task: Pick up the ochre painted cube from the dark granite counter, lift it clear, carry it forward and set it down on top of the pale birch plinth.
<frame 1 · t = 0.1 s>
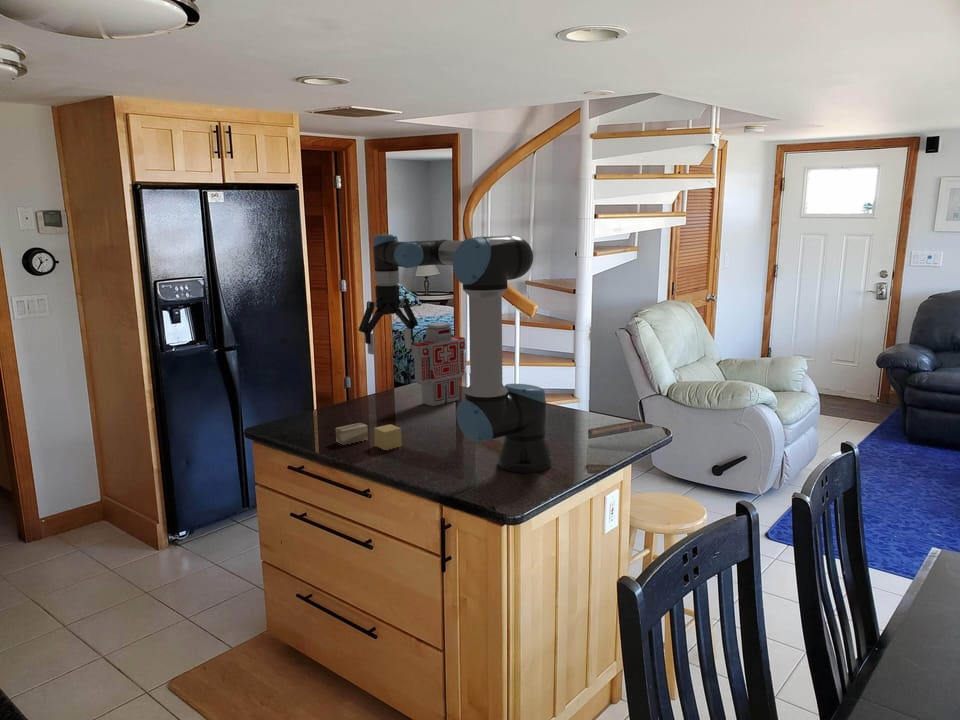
hand: (390, 351, 230), 28 cm above the counter, fingers open, 13 cm apart
ochre cube: (388, 446, 224), on the counter
birch plinth: (352, 441, 230), on the counter
toy: (440, 402, 275), on the counter
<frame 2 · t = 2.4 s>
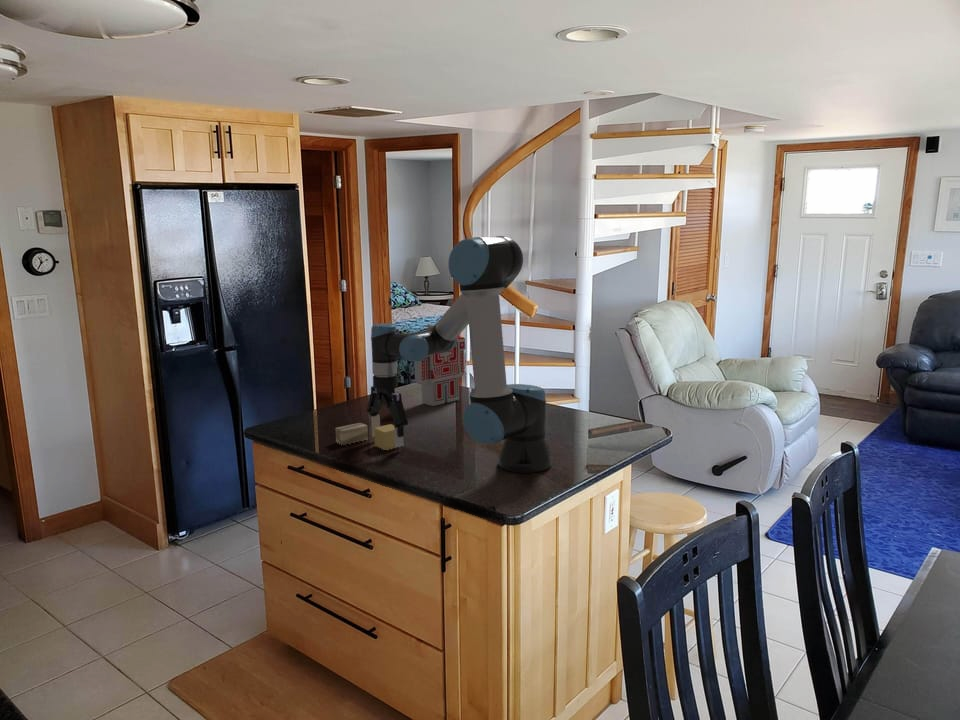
hand: (387, 441, 224), 2 cm above the counter, fingers open, 13 cm apart
nothing on the counter moved.
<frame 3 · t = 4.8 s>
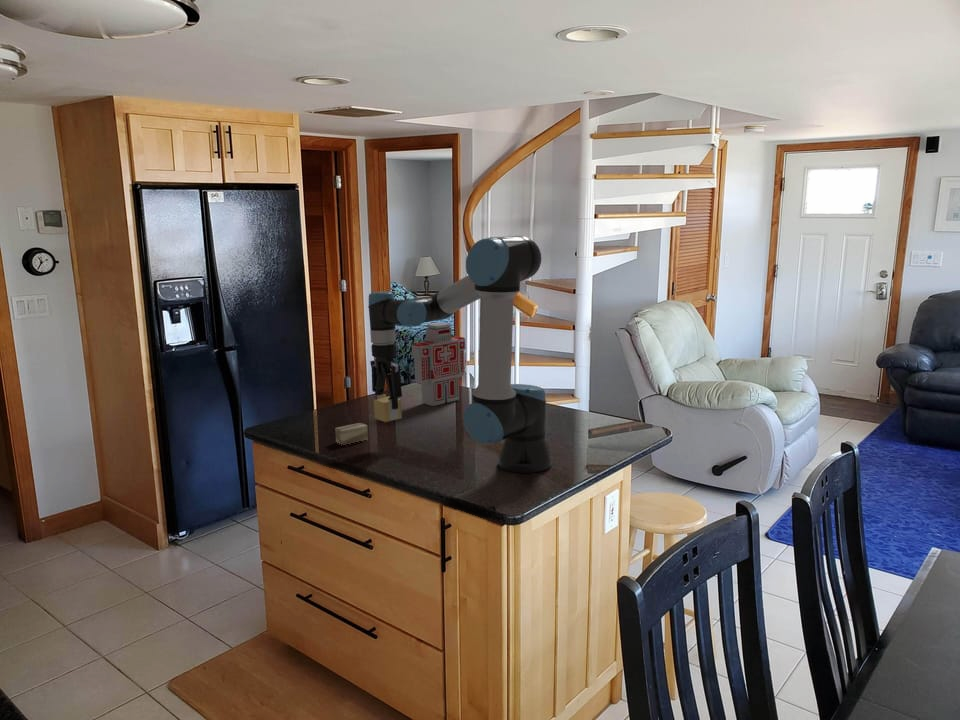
hand: (388, 417, 222), 10 cm above the counter, fingers closed on ochre cube, 6 cm apart
ochre cube: (388, 418, 222), point 9 cm above the counter, touching gripper
everything else where it was.
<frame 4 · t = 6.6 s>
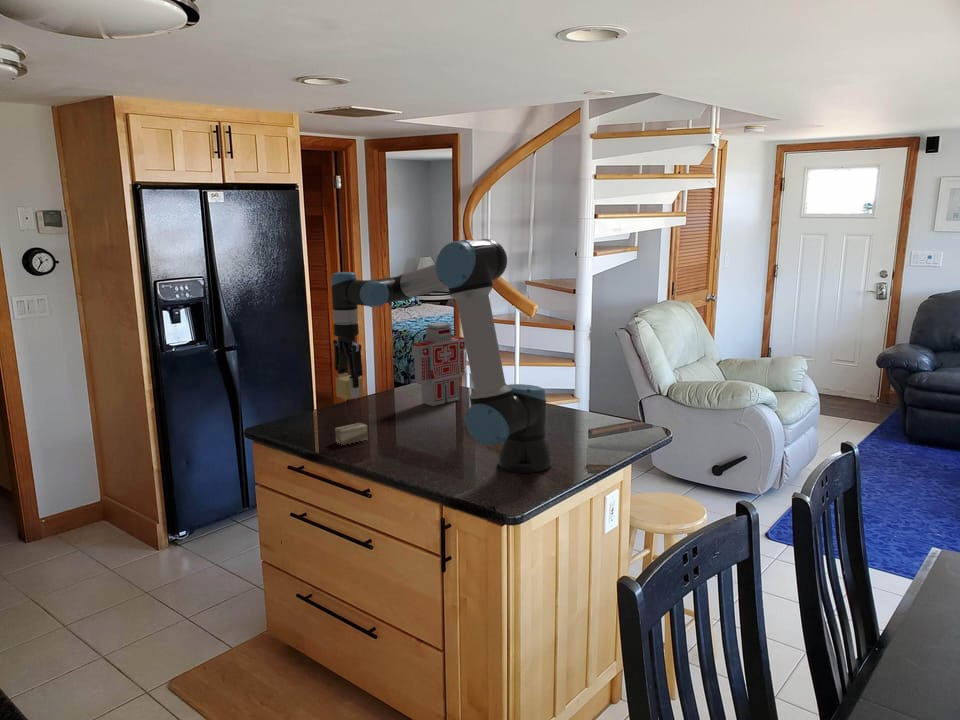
hand: (349, 395, 227), 15 cm above the counter, fingers closed on ochre cube, 6 cm apart
ochre cube: (349, 396, 227), point 15 cm above the counter, touching gripper
everything else where it was.
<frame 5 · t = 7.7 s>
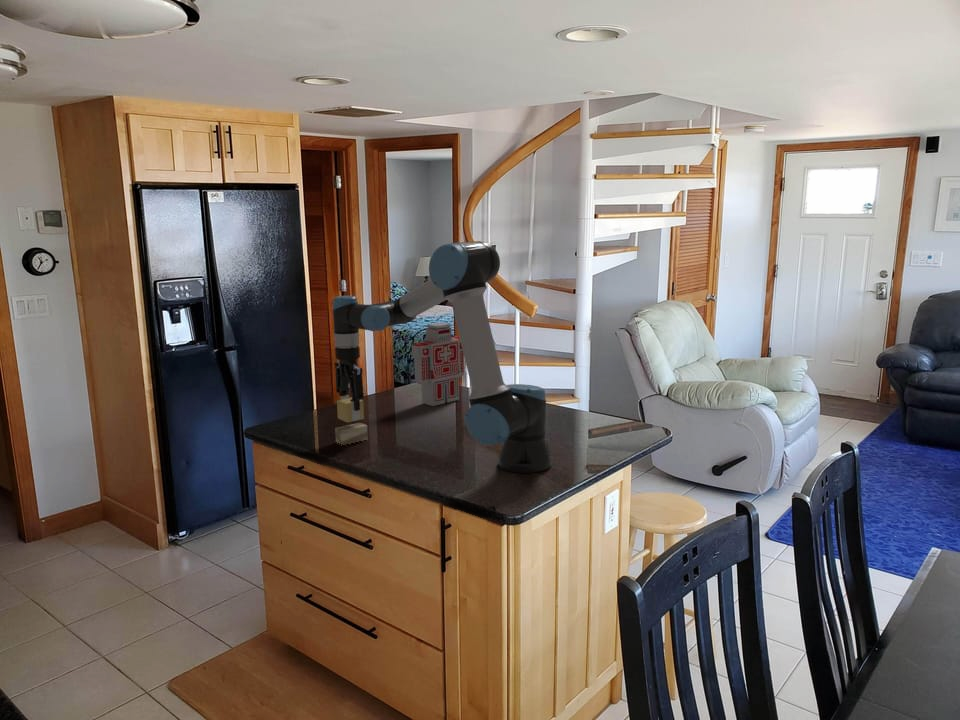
hand: (350, 417, 228), 8 cm above the counter, fingers closed on ochre cube, 6 cm apart
ochre cube: (350, 418, 229), point 7 cm above the counter, touching gripper
everything else where it was.
when the fingers open (7 cm above the counter, at t = 8.6 s): ochre cube drops 2 cm, resting on birch plinth.
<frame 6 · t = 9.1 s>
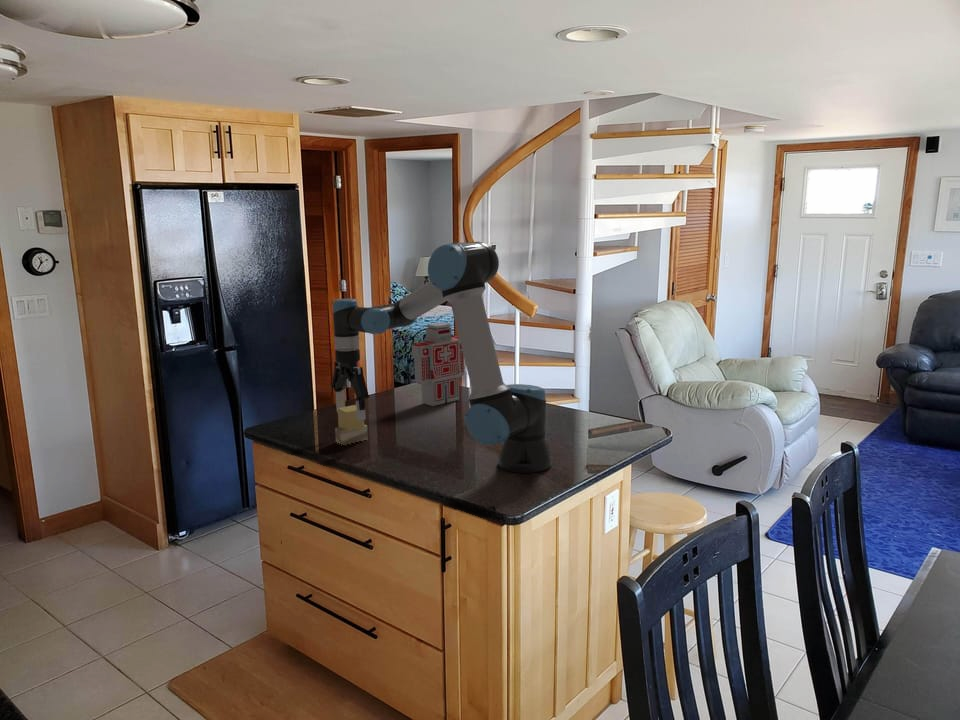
hand: (350, 415, 228), 9 cm above the counter, fingers open, 12 cm apart
ochre cube: (351, 426, 229), point 5 cm above the counter, touching birch plinth
birch plinth: (352, 441, 230), on the counter, touching ochre cube
everything else where it was.
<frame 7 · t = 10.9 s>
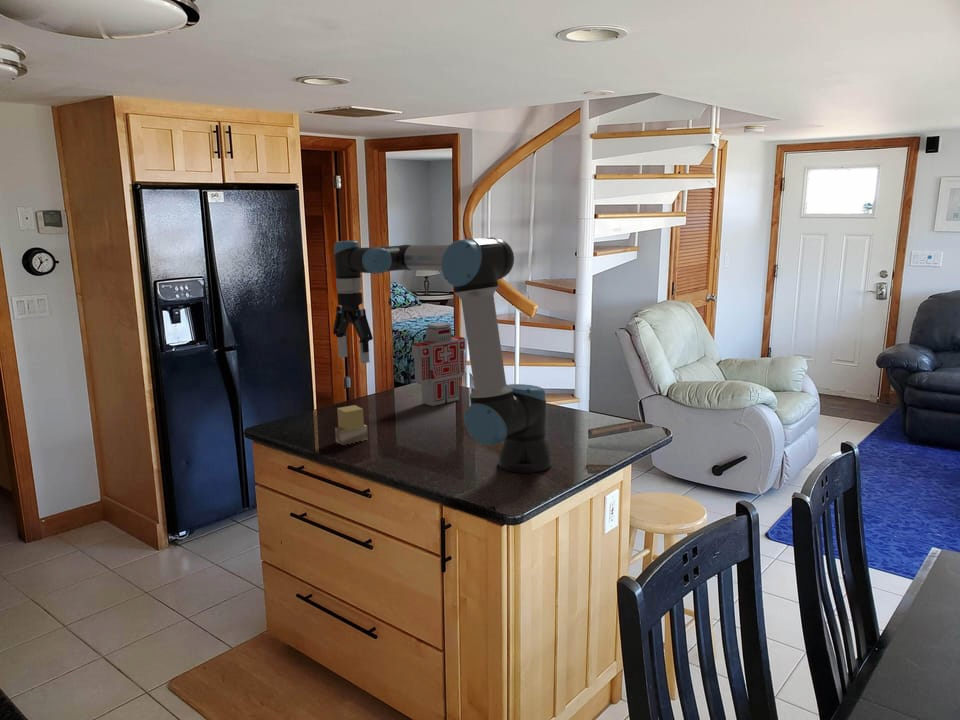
hand: (353, 360, 225), 26 cm above the counter, fingers open, 13 cm apart
ochre cube: (351, 426, 229), point 5 cm above the counter
birch plinth: (352, 441, 230), on the counter
everything else where it was.
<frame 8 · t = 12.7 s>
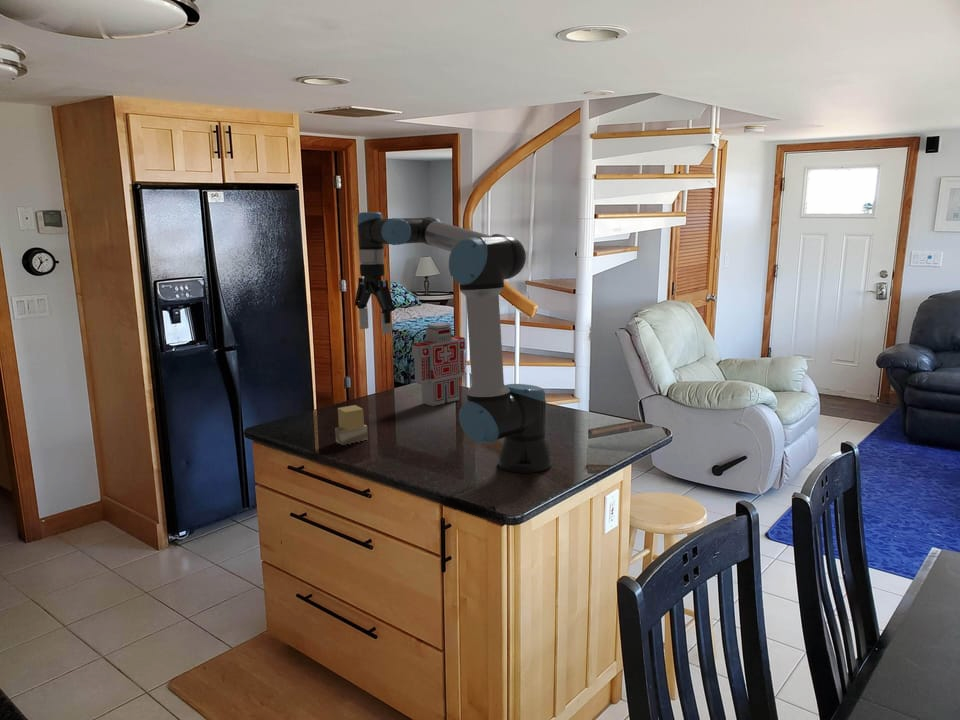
hand: (375, 331, 227), 35 cm above the counter, fingers open, 13 cm apart
ochre cube: (351, 426, 229), point 5 cm above the counter, touching birch plinth
birch plinth: (352, 441, 230), on the counter, touching ochre cube
everything else where it was.
at the end: ochre cube 0.1 cm off-centre on the birch plinth, point 5.0 cm above the birch plinth's base; ochre cube tilted 0°; the gripper is holding nothing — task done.
